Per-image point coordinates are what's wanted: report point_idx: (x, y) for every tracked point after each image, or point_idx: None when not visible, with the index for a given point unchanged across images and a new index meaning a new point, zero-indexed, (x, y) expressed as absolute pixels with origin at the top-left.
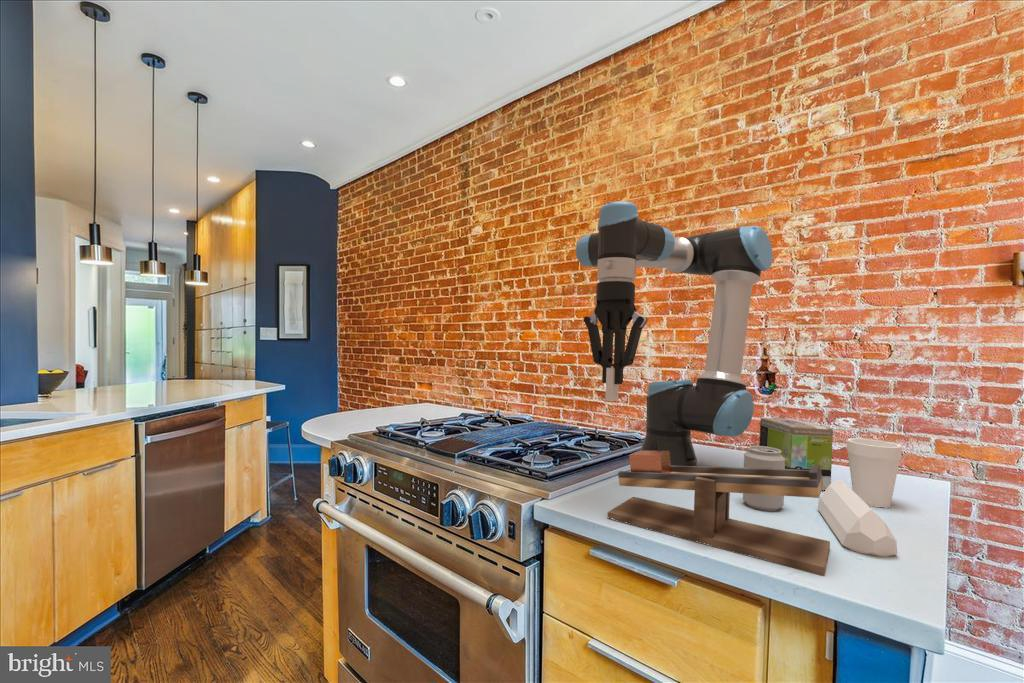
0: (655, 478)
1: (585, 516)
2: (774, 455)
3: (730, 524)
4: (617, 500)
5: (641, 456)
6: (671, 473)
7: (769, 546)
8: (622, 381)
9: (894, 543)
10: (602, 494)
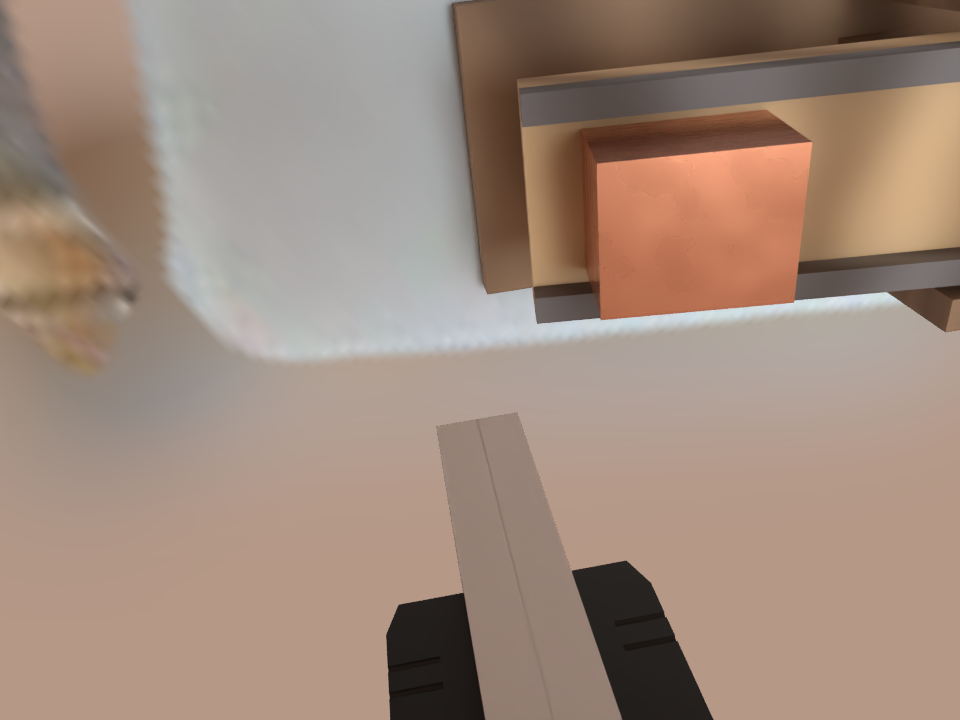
0: None
1: (409, 327)
2: None
3: (928, 27)
4: (379, 37)
5: (676, 310)
6: (818, 276)
7: None
8: (652, 596)
9: None
10: (263, 8)
